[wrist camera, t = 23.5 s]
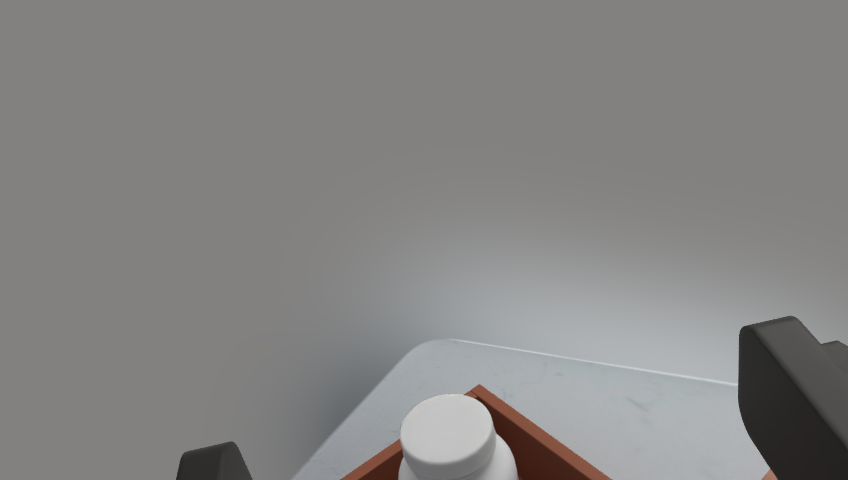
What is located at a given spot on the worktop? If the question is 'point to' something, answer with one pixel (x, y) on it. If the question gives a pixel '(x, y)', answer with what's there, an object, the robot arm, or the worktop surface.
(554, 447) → the bin
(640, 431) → the worktop surface
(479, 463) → the pill bottle
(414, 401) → the worktop surface
